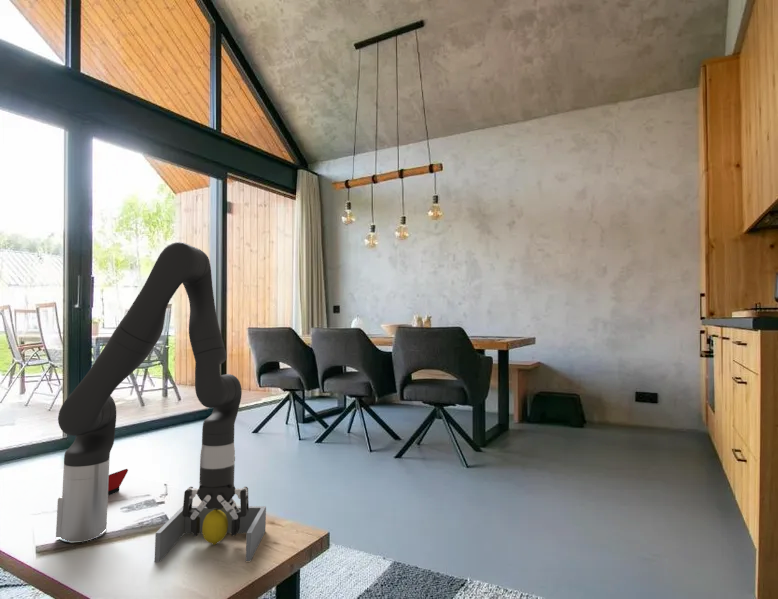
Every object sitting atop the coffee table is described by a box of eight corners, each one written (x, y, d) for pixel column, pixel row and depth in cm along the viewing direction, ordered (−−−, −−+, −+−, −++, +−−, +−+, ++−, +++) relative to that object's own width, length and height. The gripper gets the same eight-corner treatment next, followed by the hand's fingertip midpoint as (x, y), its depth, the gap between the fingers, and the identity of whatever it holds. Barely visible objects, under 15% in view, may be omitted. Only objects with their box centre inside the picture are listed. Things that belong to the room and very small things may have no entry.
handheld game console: (100, 489, 146) (101, 464, 146) (128, 493, 143) (129, 467, 143) (61, 503, 134) (62, 476, 134) (90, 508, 131) (91, 480, 131)
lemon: (219, 551, 107) (220, 514, 107) (196, 548, 108) (197, 512, 109) (231, 540, 112) (233, 505, 113) (210, 538, 114) (211, 503, 114)
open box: (154, 562, 102) (155, 533, 102) (181, 531, 117) (182, 506, 117) (250, 561, 103) (251, 532, 103) (265, 531, 118) (266, 506, 118)
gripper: (179, 467, 107) (177, 542, 106) (244, 467, 108) (242, 541, 107) (192, 458, 115) (189, 527, 114) (252, 458, 115) (250, 527, 114)
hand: (215, 534), depth 110 cm, fingers open, 8 cm apart
